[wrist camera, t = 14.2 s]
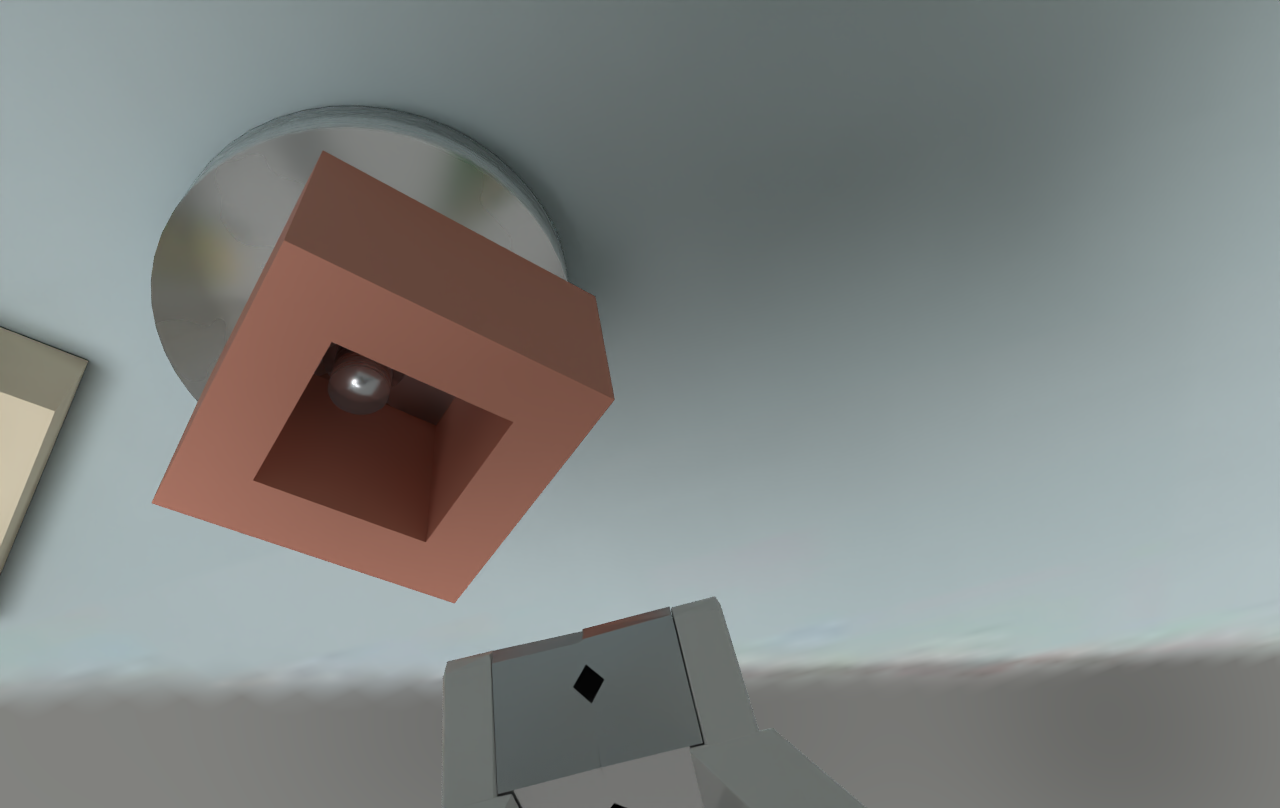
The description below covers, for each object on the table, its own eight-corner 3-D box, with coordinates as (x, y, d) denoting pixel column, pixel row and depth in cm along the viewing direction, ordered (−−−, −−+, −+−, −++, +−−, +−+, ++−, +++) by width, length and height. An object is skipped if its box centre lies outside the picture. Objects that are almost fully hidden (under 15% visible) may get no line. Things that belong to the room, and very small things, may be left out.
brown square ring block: (206, 383, 20) (152, 503, 17) (322, 150, 17) (283, 239, 14) (459, 483, 23) (454, 603, 20) (595, 296, 20) (614, 399, 17)
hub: (117, 354, 21) (51, 459, 18) (263, 16, 17) (211, 75, 14) (458, 488, 25) (453, 594, 22) (640, 237, 21) (666, 322, 18)
